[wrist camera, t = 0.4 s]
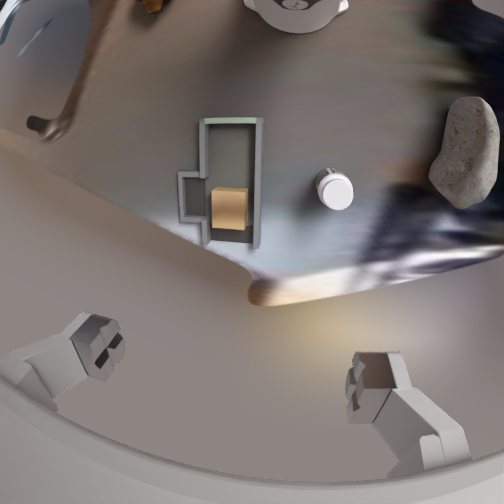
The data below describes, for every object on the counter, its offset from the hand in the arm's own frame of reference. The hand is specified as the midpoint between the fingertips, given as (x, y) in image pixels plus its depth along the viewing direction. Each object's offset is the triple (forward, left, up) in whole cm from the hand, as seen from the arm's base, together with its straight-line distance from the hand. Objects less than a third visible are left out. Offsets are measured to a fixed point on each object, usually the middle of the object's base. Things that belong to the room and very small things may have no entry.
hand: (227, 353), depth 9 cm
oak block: (+8, -10, -46) cm, 48 cm away
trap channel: (+4, -12, -46) cm, 47 cm away
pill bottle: (+3, +8, -46) cm, 46 cm away
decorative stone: (-7, +32, -46) cm, 56 cm away
